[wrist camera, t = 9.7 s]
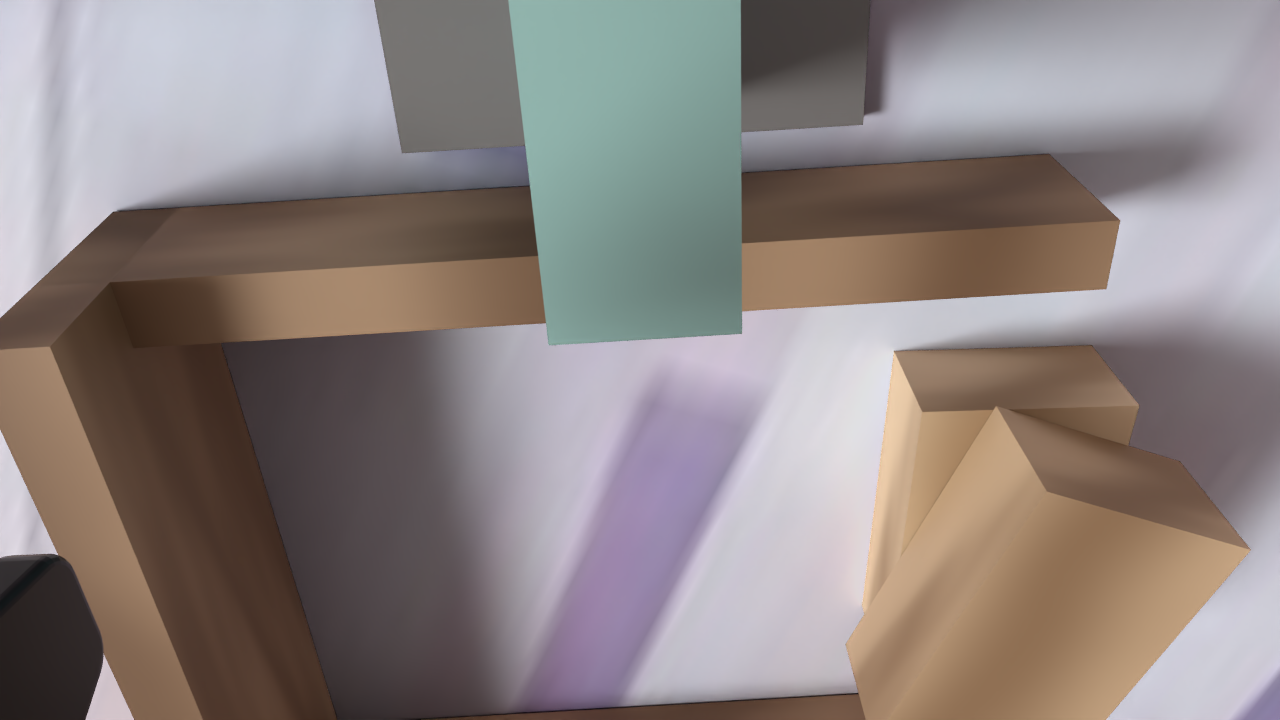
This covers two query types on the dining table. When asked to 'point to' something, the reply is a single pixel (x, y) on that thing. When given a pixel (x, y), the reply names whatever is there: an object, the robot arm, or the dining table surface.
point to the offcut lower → (975, 424)
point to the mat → (488, 86)
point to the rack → (400, 302)
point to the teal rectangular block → (633, 164)
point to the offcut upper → (1041, 580)
